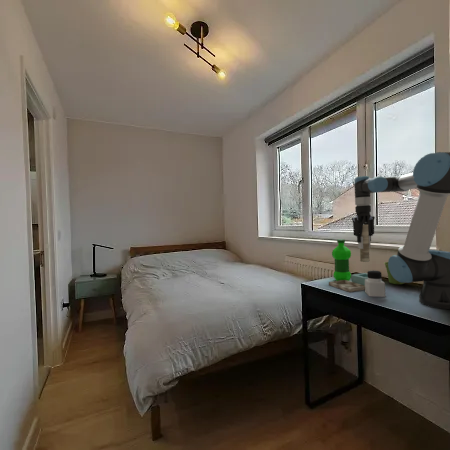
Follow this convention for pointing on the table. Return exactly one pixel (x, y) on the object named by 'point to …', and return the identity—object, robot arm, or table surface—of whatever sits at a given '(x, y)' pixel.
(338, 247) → the plastic bottle
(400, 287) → the table surface
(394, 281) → the plant pot
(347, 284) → the tray
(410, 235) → the robot arm
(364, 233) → the dowel
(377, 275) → the medicine bottle
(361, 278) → the teal square bowl
